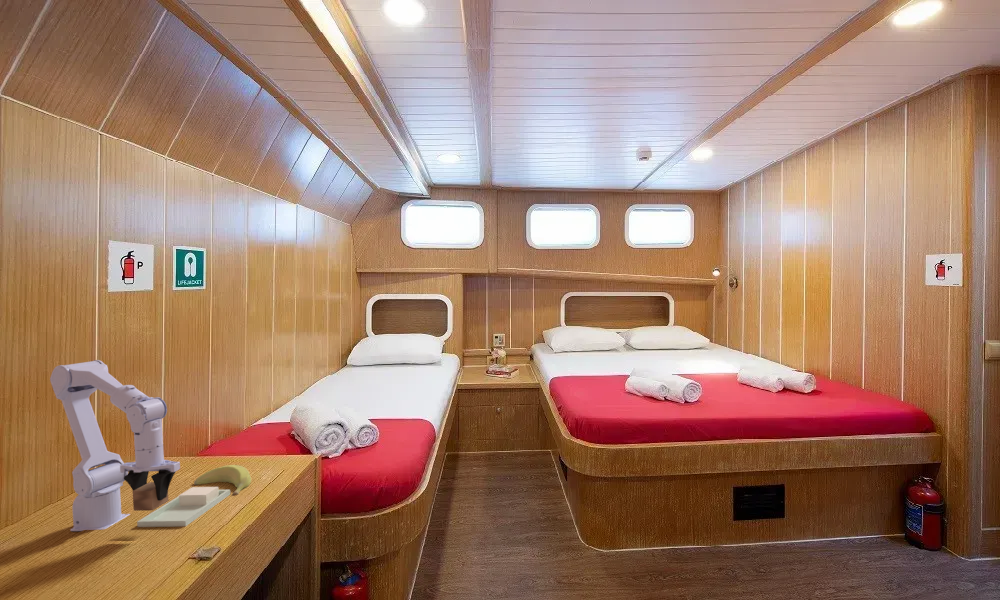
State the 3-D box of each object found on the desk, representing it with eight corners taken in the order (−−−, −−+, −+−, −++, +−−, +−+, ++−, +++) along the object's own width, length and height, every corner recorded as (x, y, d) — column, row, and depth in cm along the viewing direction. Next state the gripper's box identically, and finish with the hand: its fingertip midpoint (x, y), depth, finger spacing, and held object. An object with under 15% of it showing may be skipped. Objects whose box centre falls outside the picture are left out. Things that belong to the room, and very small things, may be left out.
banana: (237, 453, 149) (253, 477, 135) (242, 466, 151) (259, 491, 137) (190, 475, 141) (202, 503, 126) (196, 489, 142) (209, 518, 128)
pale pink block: (179, 505, 126) (178, 495, 126) (192, 497, 132) (192, 487, 132) (206, 505, 126) (206, 494, 126) (218, 496, 131) (218, 486, 131)
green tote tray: (137, 529, 115) (137, 521, 115) (188, 496, 133) (188, 490, 133) (185, 528, 115) (185, 520, 115) (230, 496, 133) (230, 489, 133)
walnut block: (133, 510, 112) (132, 491, 111) (150, 500, 117) (149, 482, 116) (152, 510, 111) (151, 490, 111) (168, 500, 116) (167, 482, 116)
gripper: (107, 452, 110) (110, 506, 110) (163, 452, 109) (166, 506, 110) (132, 443, 117) (135, 493, 118) (185, 442, 116) (187, 493, 117)
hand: (151, 498), depth 114 cm, fingers closed on walnut block, 5 cm apart
